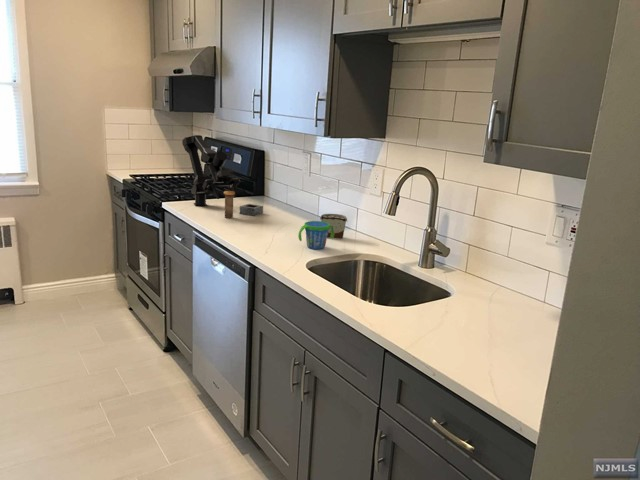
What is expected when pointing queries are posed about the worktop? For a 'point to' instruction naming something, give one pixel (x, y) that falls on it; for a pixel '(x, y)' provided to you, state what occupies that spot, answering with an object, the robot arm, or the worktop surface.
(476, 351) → the worktop surface
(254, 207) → the block
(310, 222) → the snack cup
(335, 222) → the food container
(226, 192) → the pin
